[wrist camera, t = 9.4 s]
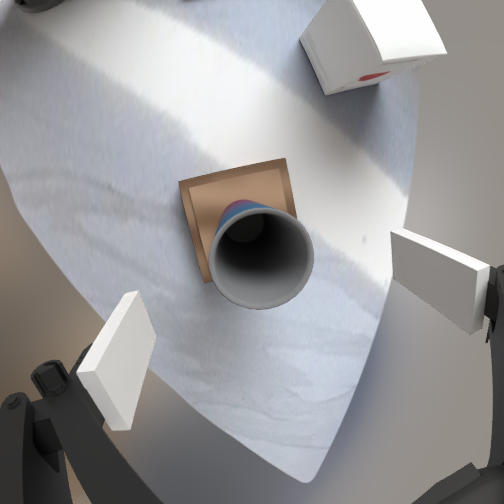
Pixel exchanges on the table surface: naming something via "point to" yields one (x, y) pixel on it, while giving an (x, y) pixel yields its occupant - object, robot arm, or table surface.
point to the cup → (260, 255)
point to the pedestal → (232, 199)
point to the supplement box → (368, 41)
